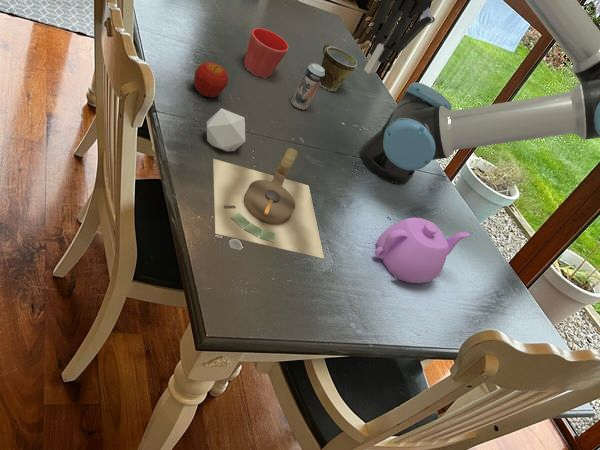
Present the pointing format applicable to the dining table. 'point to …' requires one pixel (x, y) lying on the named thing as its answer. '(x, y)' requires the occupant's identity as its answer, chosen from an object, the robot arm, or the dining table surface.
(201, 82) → the apple
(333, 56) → the ceramic cup
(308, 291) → the dining table surface
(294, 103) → the beer can
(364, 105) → the dining table surface
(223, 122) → the die
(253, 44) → the flower pot
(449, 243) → the teapot
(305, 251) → the board
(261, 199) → the dial
